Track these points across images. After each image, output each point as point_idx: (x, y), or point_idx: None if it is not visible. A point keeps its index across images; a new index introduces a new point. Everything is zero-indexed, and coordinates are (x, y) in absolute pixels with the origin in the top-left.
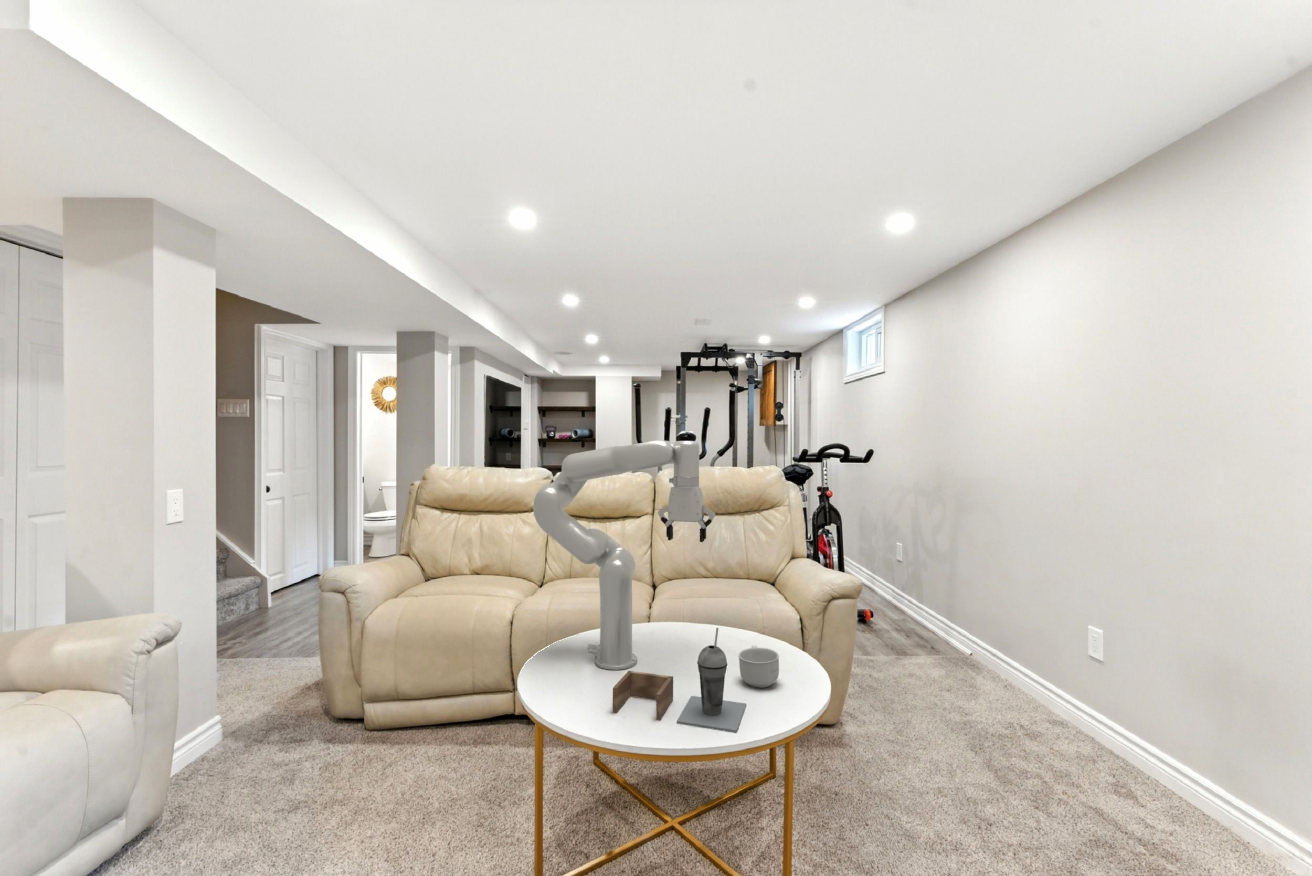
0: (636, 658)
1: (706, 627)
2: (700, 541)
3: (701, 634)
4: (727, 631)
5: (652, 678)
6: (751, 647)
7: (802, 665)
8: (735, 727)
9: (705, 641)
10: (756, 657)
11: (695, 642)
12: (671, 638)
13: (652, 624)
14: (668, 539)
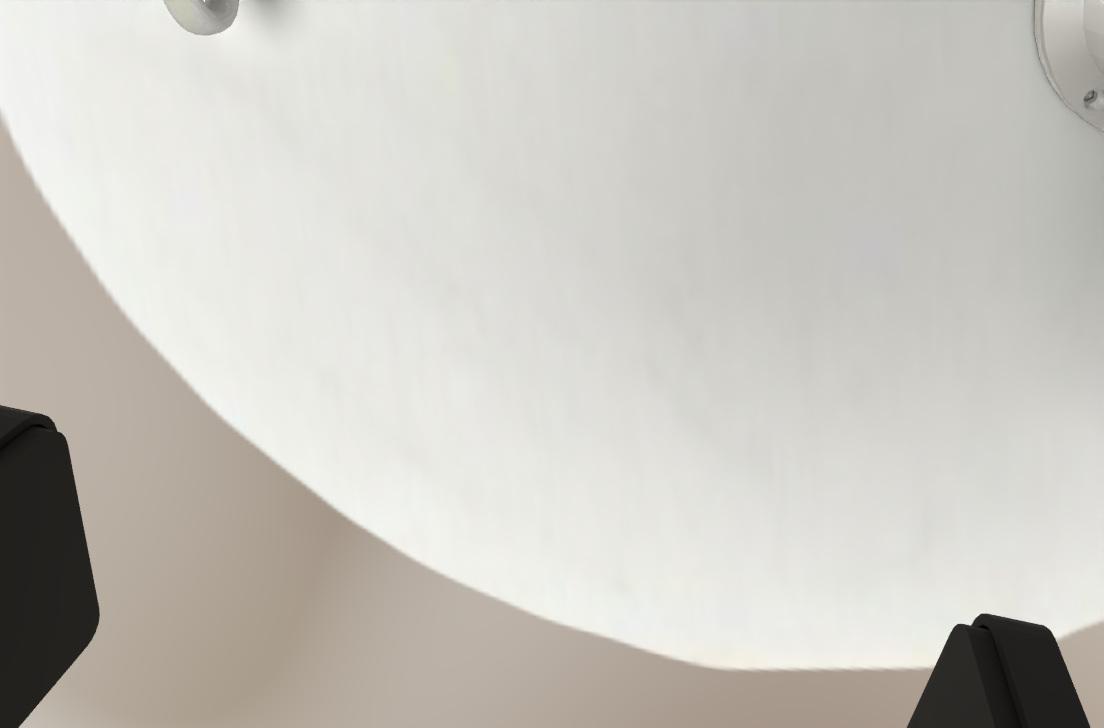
0: (1046, 8)
1: (607, 610)
2: (29, 416)
3: (626, 515)
4: (491, 561)
5: None
6: (209, 14)
7: (52, 139)
8: None
9: (594, 418)
10: None
11: (650, 399)
12: (800, 447)
13: (927, 644)
14: (1029, 630)
